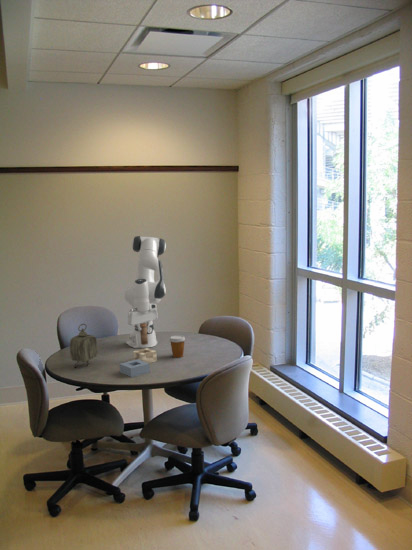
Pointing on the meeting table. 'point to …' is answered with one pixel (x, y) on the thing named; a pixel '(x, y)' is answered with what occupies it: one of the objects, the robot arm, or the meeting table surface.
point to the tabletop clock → (83, 347)
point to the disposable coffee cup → (177, 345)
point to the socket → (134, 368)
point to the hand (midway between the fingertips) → (143, 329)
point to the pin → (144, 334)
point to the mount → (145, 355)
